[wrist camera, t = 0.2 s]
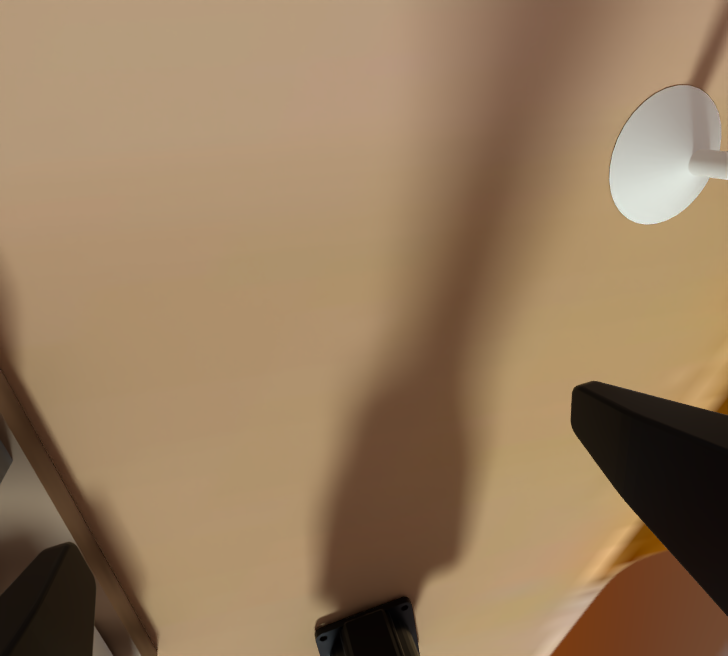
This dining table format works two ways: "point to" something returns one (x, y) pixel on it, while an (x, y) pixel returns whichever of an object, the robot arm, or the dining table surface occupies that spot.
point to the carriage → (100, 645)
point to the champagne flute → (667, 155)
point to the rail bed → (53, 526)
